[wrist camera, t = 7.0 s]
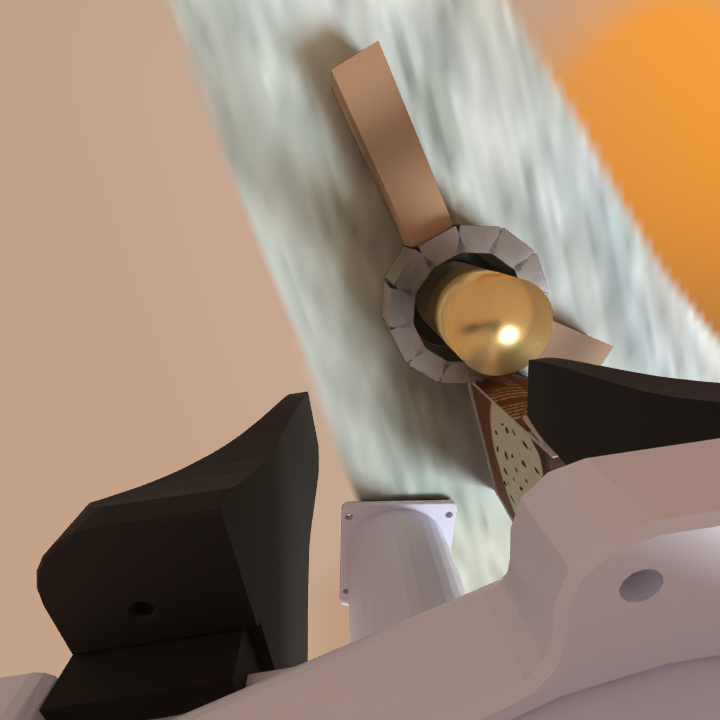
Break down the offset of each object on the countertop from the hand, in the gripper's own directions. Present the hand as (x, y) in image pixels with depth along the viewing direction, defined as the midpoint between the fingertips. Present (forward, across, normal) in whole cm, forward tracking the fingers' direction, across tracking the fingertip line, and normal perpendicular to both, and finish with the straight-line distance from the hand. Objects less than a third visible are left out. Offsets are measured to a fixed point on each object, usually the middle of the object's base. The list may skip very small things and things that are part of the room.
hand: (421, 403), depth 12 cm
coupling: (+10, -6, -4) cm, 12 cm away
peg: (+10, -4, -1) cm, 11 cm away
